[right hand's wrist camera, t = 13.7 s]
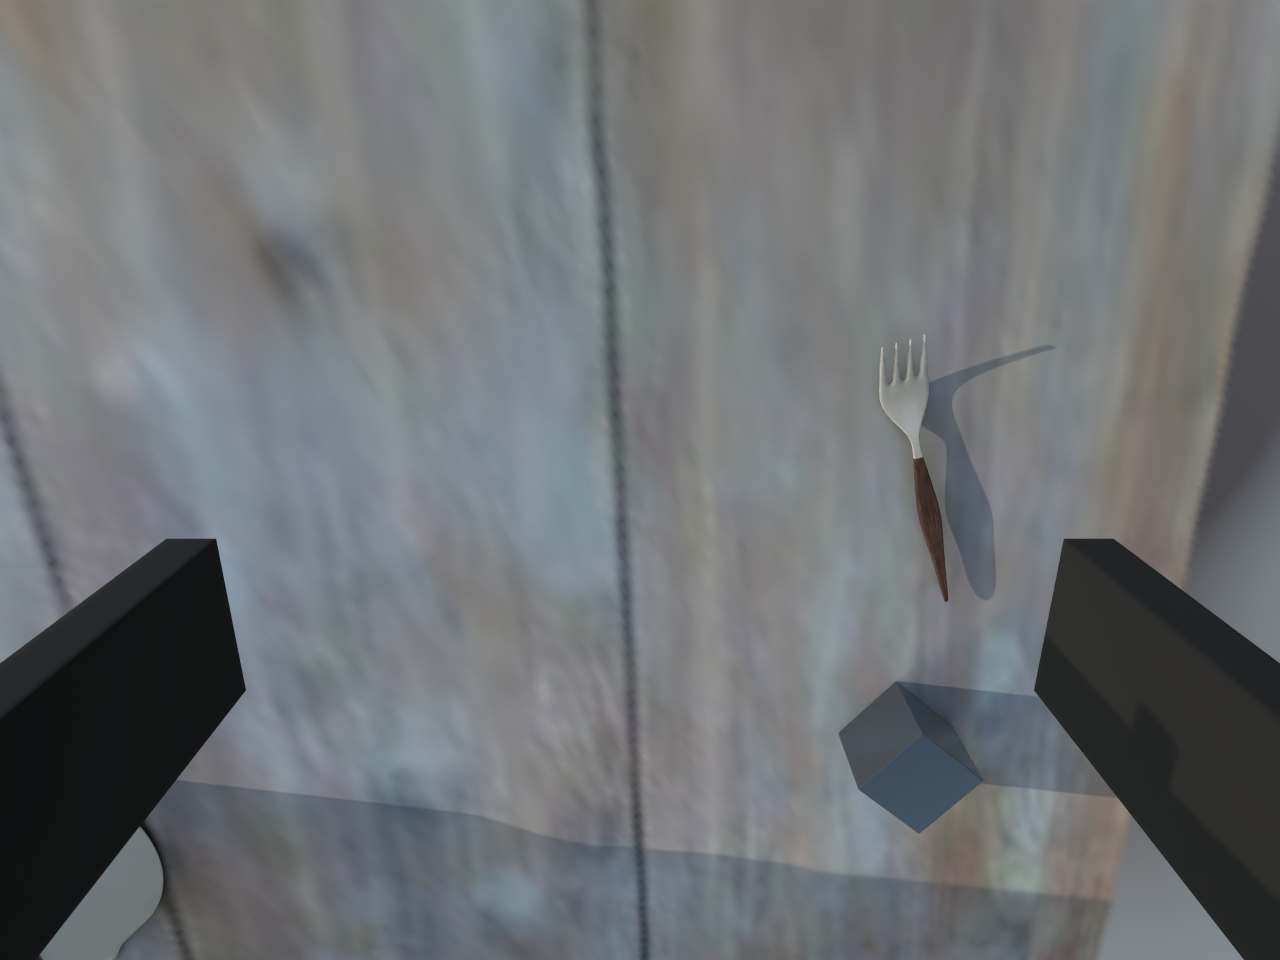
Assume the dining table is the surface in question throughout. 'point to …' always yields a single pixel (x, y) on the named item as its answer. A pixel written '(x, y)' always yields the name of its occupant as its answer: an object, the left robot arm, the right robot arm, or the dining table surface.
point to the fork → (916, 446)
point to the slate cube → (908, 758)
